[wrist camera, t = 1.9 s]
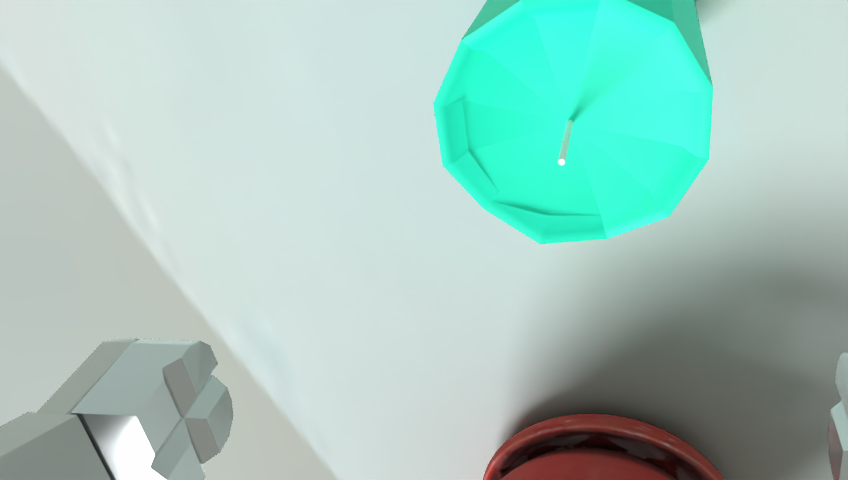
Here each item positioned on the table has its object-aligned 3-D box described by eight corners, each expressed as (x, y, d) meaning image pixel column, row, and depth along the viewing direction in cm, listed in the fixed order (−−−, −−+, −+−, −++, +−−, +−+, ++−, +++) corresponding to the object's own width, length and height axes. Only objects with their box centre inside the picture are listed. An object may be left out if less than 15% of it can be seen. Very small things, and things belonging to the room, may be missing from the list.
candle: (478, -53, 25) (369, 69, 15) (664, -128, 22) (680, -41, 12) (536, 110, 27) (476, 307, 17) (709, 59, 25) (752, 254, 15)
